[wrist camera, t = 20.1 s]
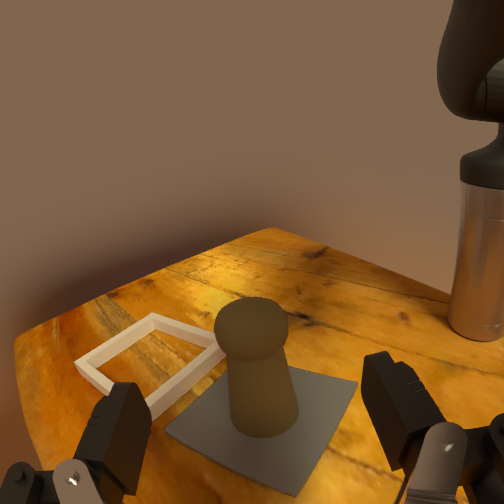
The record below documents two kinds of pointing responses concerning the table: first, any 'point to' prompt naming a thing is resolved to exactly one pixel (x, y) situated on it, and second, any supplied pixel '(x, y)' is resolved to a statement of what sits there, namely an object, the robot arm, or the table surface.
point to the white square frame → (176, 384)
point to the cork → (257, 366)
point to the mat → (267, 449)
